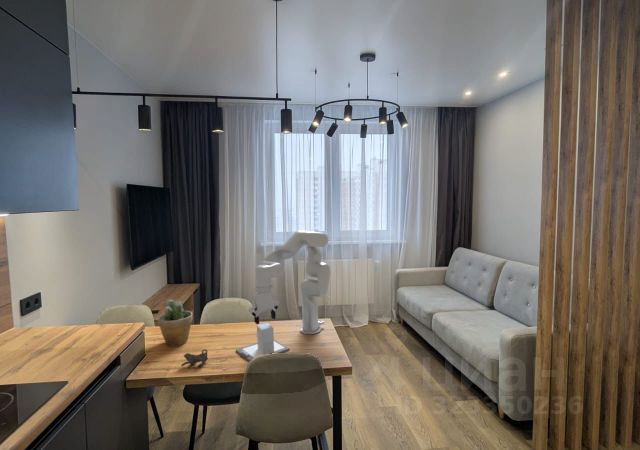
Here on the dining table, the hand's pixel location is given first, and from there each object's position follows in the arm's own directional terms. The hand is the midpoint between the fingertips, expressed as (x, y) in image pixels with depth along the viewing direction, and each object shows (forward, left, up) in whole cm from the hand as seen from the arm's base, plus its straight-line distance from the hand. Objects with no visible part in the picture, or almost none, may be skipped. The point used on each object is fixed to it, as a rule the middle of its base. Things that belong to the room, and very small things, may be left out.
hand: (265, 321), depth 176 cm
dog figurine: (+33, -11, -17) cm, 39 cm away
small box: (0, 0, -16) cm, 16 cm away
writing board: (+1, -3, -17) cm, 17 cm away
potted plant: (+32, -46, -17) cm, 58 cm away
